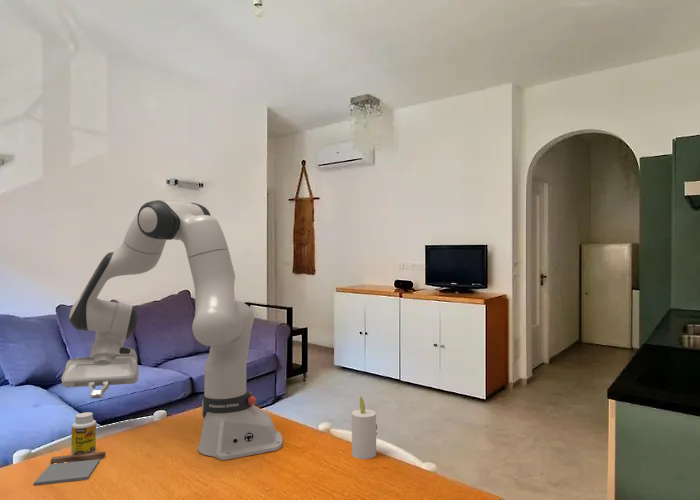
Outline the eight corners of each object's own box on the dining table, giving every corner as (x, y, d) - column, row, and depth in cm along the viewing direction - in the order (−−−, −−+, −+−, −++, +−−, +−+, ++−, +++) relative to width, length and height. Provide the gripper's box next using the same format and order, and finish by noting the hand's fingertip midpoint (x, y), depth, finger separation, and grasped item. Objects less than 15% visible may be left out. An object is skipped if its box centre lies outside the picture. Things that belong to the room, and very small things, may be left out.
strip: (105, 456, 118) (105, 451, 118) (103, 458, 117) (103, 454, 117) (53, 461, 115) (53, 456, 115) (50, 464, 114) (50, 459, 114)
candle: (380, 457, 116) (380, 397, 117) (356, 460, 114) (355, 400, 115) (372, 447, 122) (371, 391, 123) (349, 450, 120) (348, 393, 121)
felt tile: (99, 461, 115) (100, 459, 115) (87, 479, 105) (87, 476, 105) (50, 466, 112) (50, 464, 112) (33, 485, 103) (33, 482, 103)
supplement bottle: (71, 460, 116) (72, 419, 116) (70, 452, 121) (71, 413, 121) (96, 454, 119) (97, 415, 119) (94, 447, 124) (95, 409, 124)
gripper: (65, 352, 136) (52, 394, 127) (139, 349, 141) (132, 389, 132) (70, 364, 141) (58, 405, 131) (142, 360, 146) (135, 400, 136)
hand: (96, 397), depth 131 cm, fingers closed
